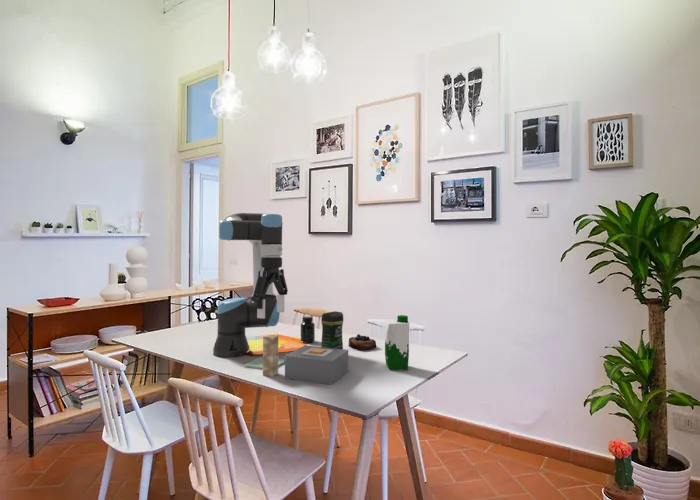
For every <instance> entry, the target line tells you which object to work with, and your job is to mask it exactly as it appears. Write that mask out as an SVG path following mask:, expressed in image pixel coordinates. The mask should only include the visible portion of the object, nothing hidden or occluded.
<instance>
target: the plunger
mask: <svg viewBox="0 0 700 500" xmlns="http://www.w3.org/2000/svg"><path fill="white" fill-rule="evenodd" d="M324 352H326V349H320V348H314V349H312V350H310V351H309V353H313V354H323V353H324Z"/></svg>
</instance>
